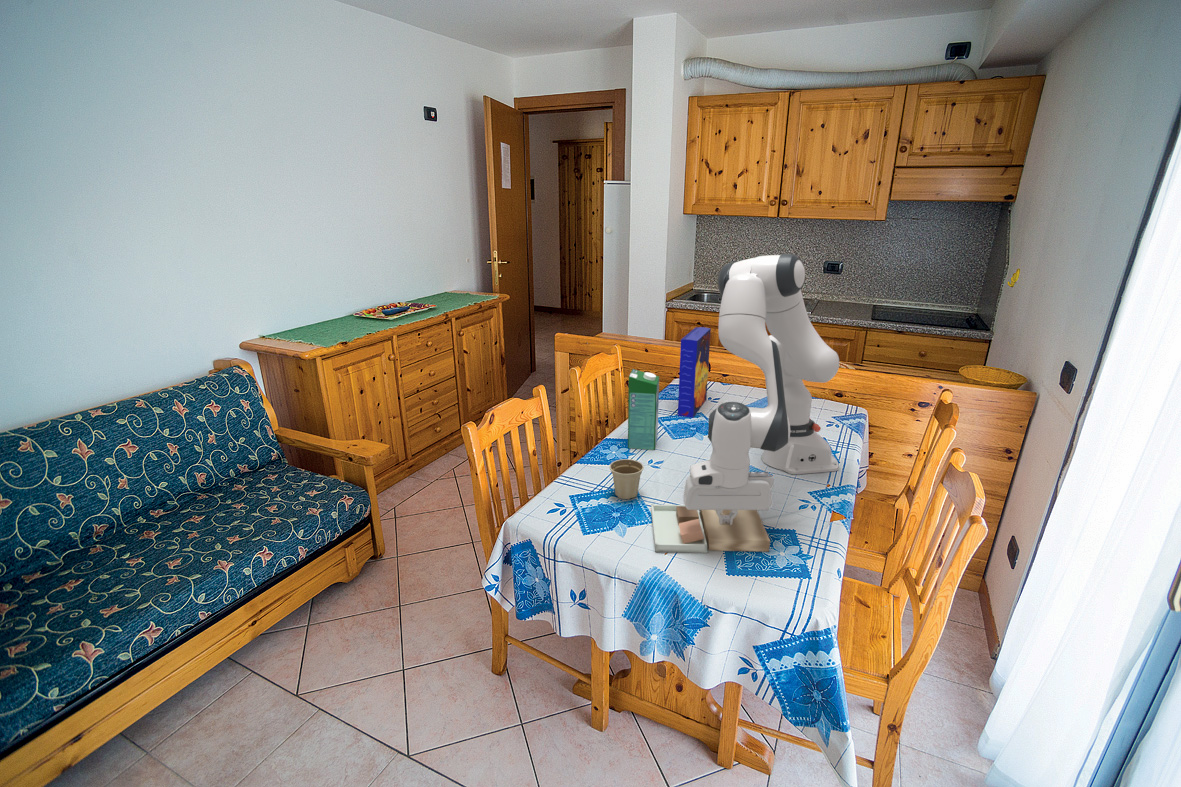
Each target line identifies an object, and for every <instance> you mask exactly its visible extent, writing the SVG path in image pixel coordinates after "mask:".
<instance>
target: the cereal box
mask: <svg viewBox="0 0 1181 787" xmlns="http://www.w3.org/2000/svg"><path fill="white" fill-rule="evenodd" d="M711 332H712V328H711V327H710V328H709V327H704V326H702V327H701V326H700V327H697V326H696V327H694V328H693V329H691V330H690V332H689V333H687V334H686V335H685V336H683V337H682V338H681V339H680V352H679V377H678V378H679V380H678V401H677V403H678V404H677V416H678V417H683V418H684V417H685V418H691V419H693V418H694V417H695V416H696V415H697V413H698V412H699V411H700V409H701V408H702V406H703V405H704V404H705V402H706V401H707V397H708V396H707V394H708V380H709V379H708V378H709V362H710V361H709V360H710V350H711V349H710V348H711V347H710V346H711V345H710V344H711Z"/></svg>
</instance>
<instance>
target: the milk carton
mask: <svg viewBox="0 0 1181 787" xmlns="http://www.w3.org/2000/svg"><path fill="white" fill-rule="evenodd" d="M659 390H660V376H658V375H656V374H655V373H653V372H646V371H642V370H638V369H636V368H635V369H634V368H632V369H631V371H630V374H629V376H628V397H627V398H628V400H627V401H628V402H627V403H628V404H627V406H628V408H627V409H628V410H627V411H628V412H627V448H628V449H635V450H649V451H650V450H651V451H656V448H657V443H658V433H659V432H658V431H659V430H658V429H659V428H658V427H659V400H660V399H659V396H660V395H659V394H660V391H659Z"/></svg>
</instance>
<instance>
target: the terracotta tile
mask: <svg viewBox="0 0 1181 787" xmlns="http://www.w3.org/2000/svg"><path fill="white" fill-rule="evenodd" d="M679 528H680V534H681V538H682V541H683V544H685V543H689V542H694V541H698V540H702V539H704V537H703V533H702V529H701V525H700V522H699V519H696V520H691V521H687V522H683V523H679Z"/></svg>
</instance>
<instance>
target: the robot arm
mask: <svg viewBox="0 0 1181 787" xmlns="http://www.w3.org/2000/svg"><path fill="white" fill-rule="evenodd" d="M717 275H718V276H717V288H718V292H719V294H720V295H721V296H722V297H721V301H720V306H719V314H718V340H719V341H720V343H721V345H722V346H723V348H724V349H726V350H727V351H728V352H730V353H731V354H732V355H734V356H736V357H738V358H740V359H742V360H745V361H748V362H749V363H752V364H754V365H755V366H756V367H758V368H759V369H760V370H761V372H763V375H764V379H765V387H766V397H767V398H766V400H767V405H766V407H752V406H748V405H746V404H744V403H742V402H739V401H728V402H724V403H723V402H722V403H721V404H719V405H718V406H717V407H715V409H714V410H712V411H711V412H710V414H709V415H708V431H707V438H708V439H709V441H710V443H711V447H712V452H711V455H710V459H707V460H705V461H701V462H698V463H694V464H692V465H690V468H689V472H690V475H689V476H688V477H687V479H686V482H685V484H684V491H683V505H685V507H686V508H687V509H688V510H699V511H700V510H716V513H717V515H718V517H719V524H720V525H732V522H733V519H734V518H735V516H736V515H737V514H738V510H757V511H768V510H769V509H771V507H772V505H773V504H772V503H773V498H772V496H773V494H772V488H773V487H774V484H775V483H774V482H775V478H774V476H773V475H772V474H770V473H768V472H767V471H761V472H760V471H750V461H751V460H750V454H749V453H750V450H751V448H752V449H760V450H763V453H762V454H761V460H762V462H763V463H764V464H766V465H767V466H769V467H772V468H774V469H777V470H781V471H784V472H785V473H787V474H790V475H802V474H803V475H804V474H815V473H829V472H837V471H838V470H839V469H840V468H839V466H840V465H839V462H838V460H837V458H836V457H835V456H834V455H833V454H832V448H831V446H830V444H829V442H827V440H825V438H824V437H822V436H821V435H820V434H819V432H820V431H821V428H822V427H821V426H820V424H818V423H816V422H815V421H814V420H813V419H811V418H810V416H811V410H812V402H813V398H812V394H811V392H810V391H809V389H808V388H807V387H806V385H805V384H804V381H806V382H812V383H823V384H825V383H828V382H830V381H831V380H833V378H834V377H835V376H836V375H837V373H838V371H839V368H840V358H839V354H838V352H837V351H835V350H834V349H833V348H831V347H830V345H828V344H827V343H826V342H825V341H824V339H823V338H822V337H821V336H820V334H819V333H818V331H817V330H816V329H815V327H814V326H813V324H812V322H811V320H810V317H809V314H808V311H807V309H806V306H805V301H804V298H803V294H802V289H803V287H804V284H805V279H806V271H805V265H804V261H803V260H802V258H800V257H799V256H798V255H796V254H794V253H782V254H773V255H771V254H770V255H768V254H767V255H759V256H755V257H752V258H747V259H743V260H739V261H737V260H734V261H732V262H729V263H726V264H724V265H723V266H722V267H721V269H720V270H719V272H718V274H717ZM767 330H768V332H769V333H770V335H769V334H768V332H767ZM722 510H731V512H730V514H729V515H722V514H721V513H722Z"/></svg>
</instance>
